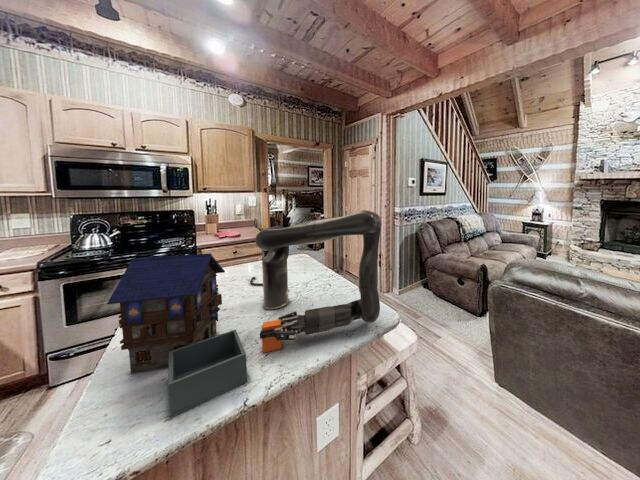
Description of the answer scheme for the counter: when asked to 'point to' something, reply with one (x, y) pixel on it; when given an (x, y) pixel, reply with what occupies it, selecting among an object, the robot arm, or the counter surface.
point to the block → (271, 342)
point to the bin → (205, 370)
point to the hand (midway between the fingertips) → (261, 331)
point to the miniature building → (166, 306)
